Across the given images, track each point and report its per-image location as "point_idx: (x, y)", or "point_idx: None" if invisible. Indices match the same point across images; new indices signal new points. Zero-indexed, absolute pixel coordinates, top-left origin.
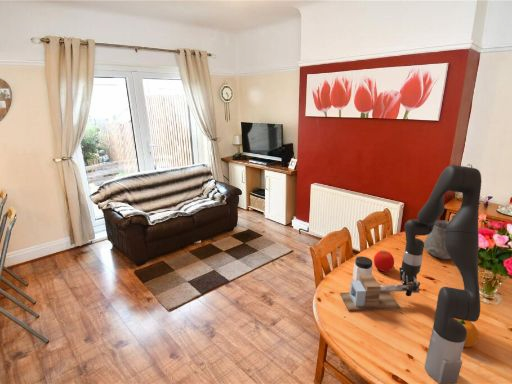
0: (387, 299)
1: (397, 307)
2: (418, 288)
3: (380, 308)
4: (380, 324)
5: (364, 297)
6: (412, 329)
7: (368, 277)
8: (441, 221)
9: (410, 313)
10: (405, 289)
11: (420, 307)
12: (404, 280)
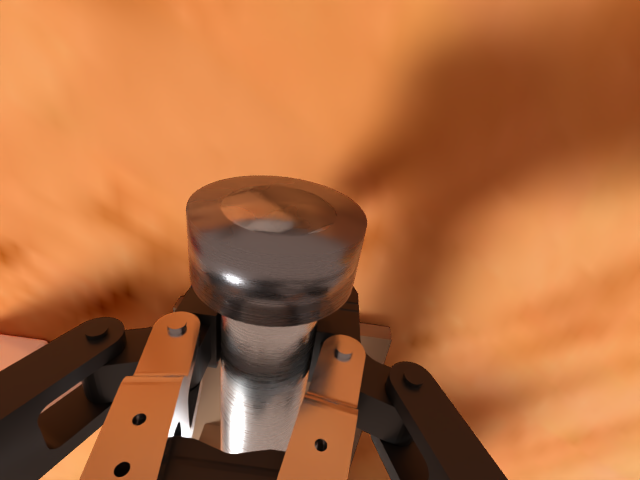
0: None
1: (382, 358)
2: (357, 254)
3: (358, 439)
4: None
5: None
6: (583, 372)
7: None
8: None
9: (453, 290)
10: (306, 378)
11: (421, 156)
12: (190, 436)
